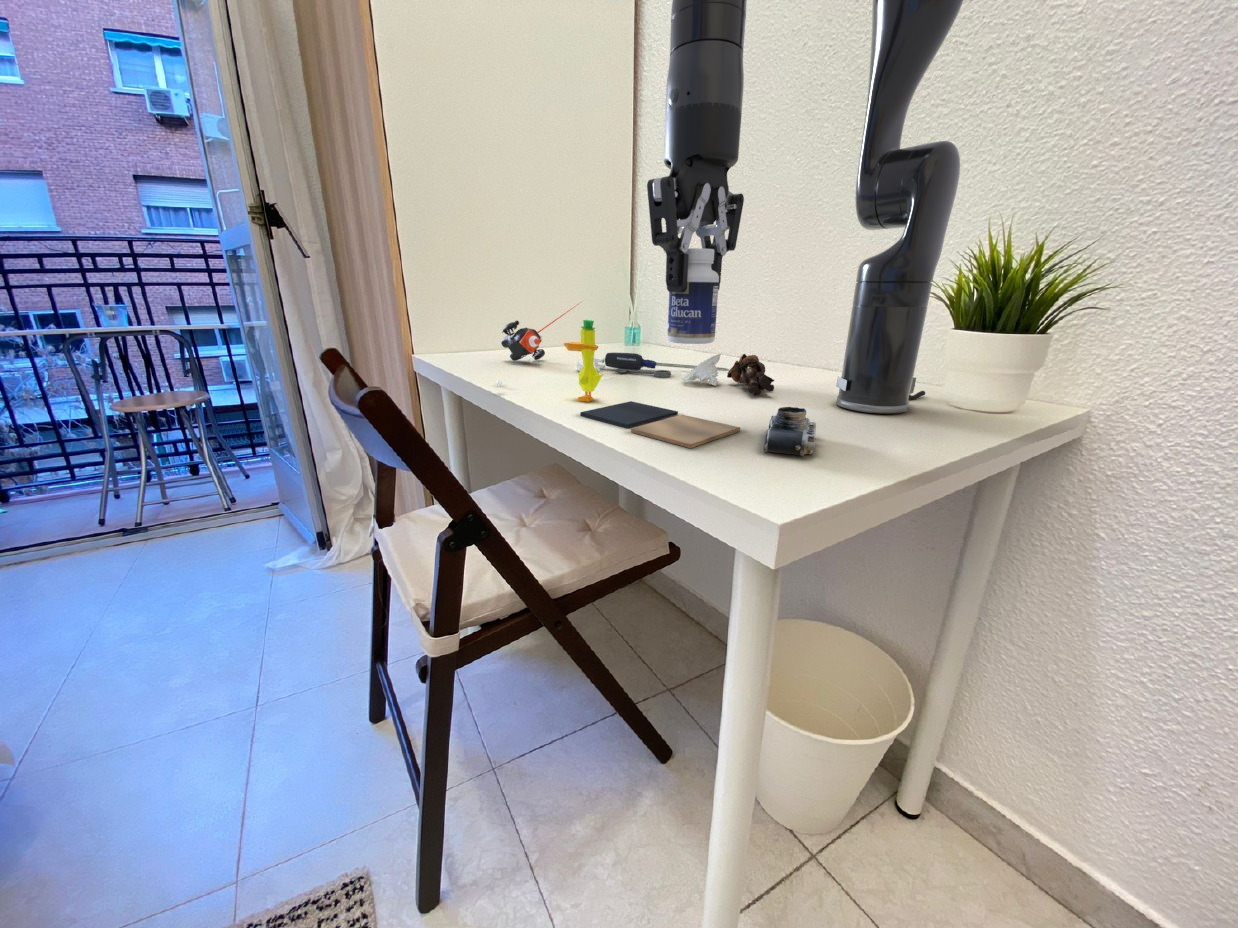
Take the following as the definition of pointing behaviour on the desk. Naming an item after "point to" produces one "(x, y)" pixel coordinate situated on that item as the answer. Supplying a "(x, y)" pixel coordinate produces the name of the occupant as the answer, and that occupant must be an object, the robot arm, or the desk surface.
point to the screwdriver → (639, 362)
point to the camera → (790, 432)
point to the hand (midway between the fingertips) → (693, 291)
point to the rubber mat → (629, 414)
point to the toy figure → (586, 360)
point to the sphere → (499, 383)
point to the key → (647, 372)
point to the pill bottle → (695, 302)
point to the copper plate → (685, 430)
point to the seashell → (705, 371)
